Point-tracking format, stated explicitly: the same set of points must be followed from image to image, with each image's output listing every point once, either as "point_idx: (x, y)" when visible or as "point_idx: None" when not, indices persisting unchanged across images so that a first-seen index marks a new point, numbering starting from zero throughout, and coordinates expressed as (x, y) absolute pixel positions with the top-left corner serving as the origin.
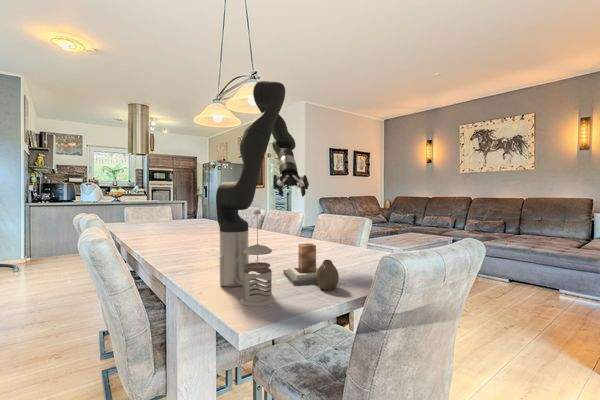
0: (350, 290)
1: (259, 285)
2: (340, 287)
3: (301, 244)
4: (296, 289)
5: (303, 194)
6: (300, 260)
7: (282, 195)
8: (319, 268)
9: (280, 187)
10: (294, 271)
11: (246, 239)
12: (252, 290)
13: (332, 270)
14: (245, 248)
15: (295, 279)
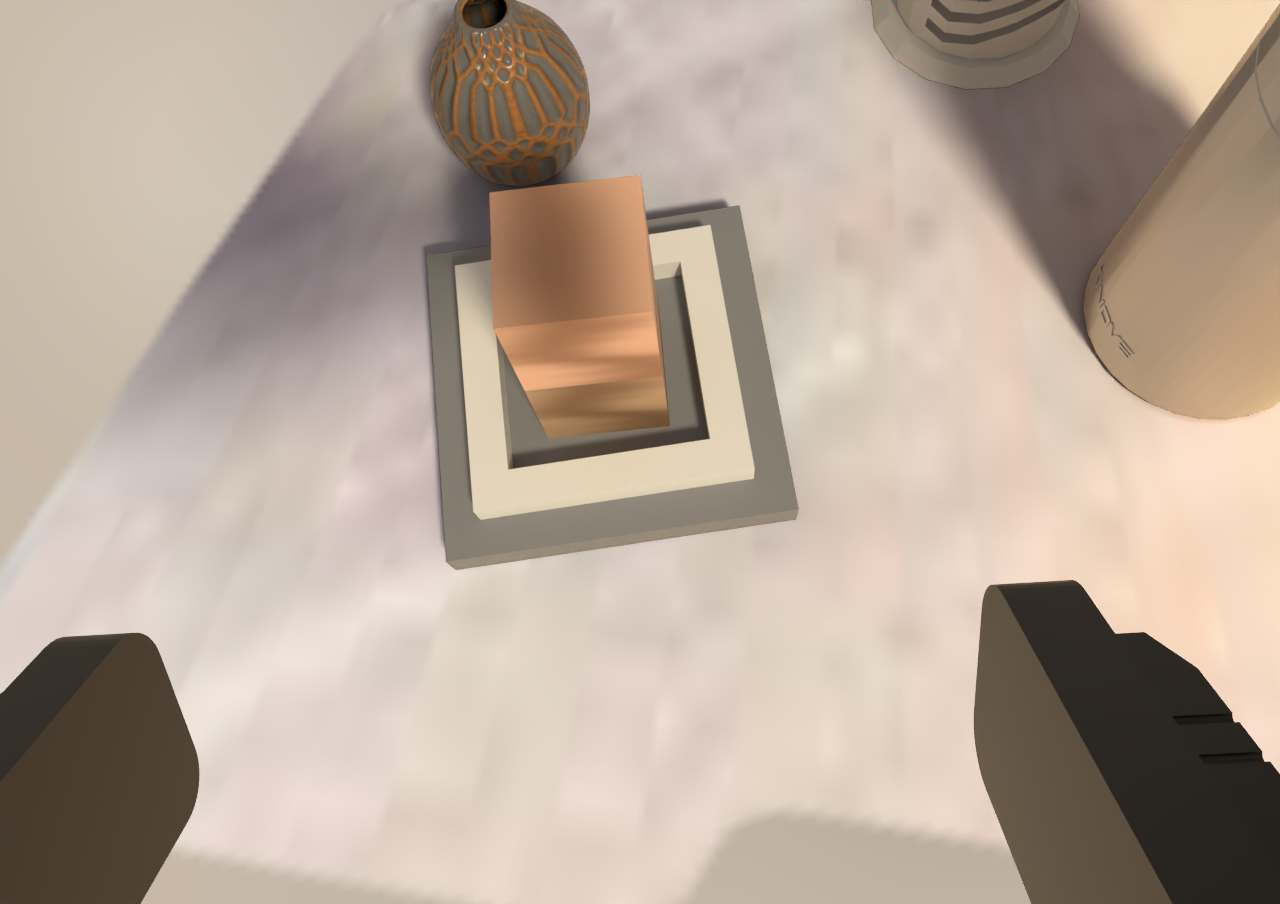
0: (400, 103)
1: (985, 25)
2: (438, 157)
3: (625, 272)
4: (729, 146)
5: (134, 676)
6: (656, 306)
7: (987, 683)
8: (559, 44)
9: (1263, 887)
10: (716, 328)
11: (1269, 22)
12: (1022, 39)
13: (480, 6)
14: (1229, 75)
15: (723, 227)
